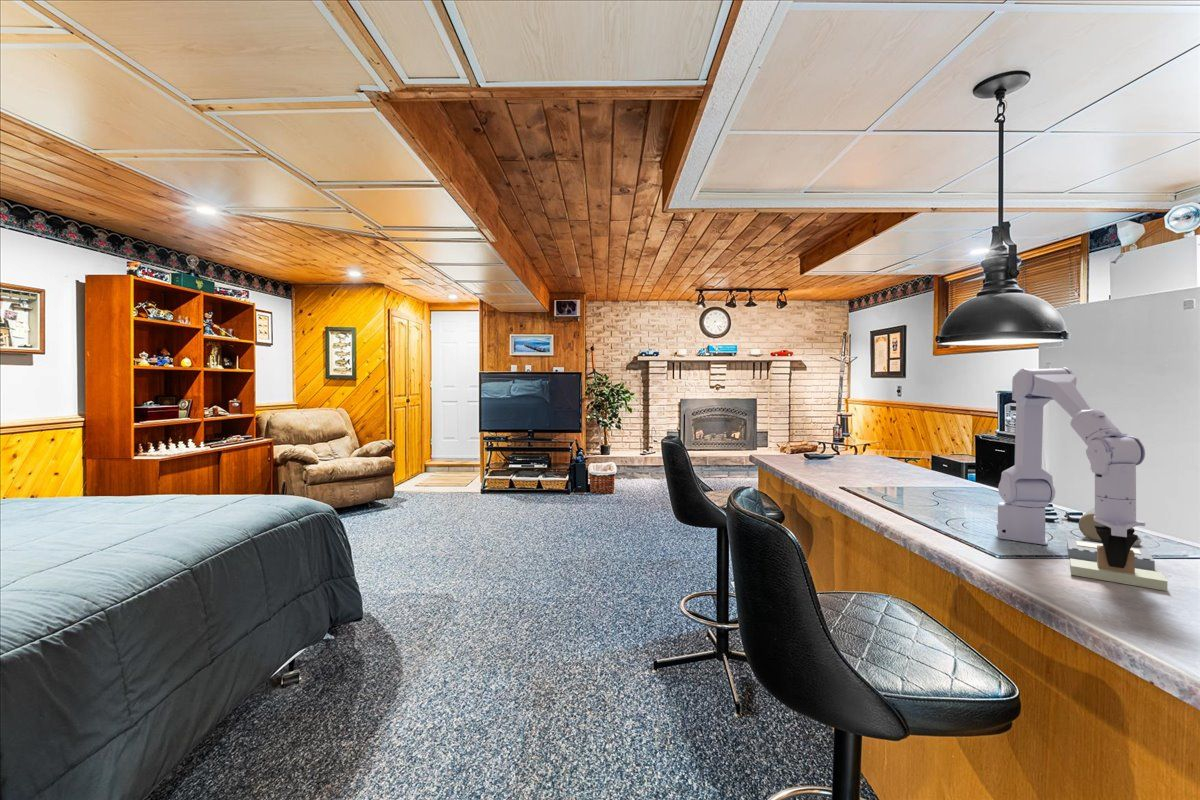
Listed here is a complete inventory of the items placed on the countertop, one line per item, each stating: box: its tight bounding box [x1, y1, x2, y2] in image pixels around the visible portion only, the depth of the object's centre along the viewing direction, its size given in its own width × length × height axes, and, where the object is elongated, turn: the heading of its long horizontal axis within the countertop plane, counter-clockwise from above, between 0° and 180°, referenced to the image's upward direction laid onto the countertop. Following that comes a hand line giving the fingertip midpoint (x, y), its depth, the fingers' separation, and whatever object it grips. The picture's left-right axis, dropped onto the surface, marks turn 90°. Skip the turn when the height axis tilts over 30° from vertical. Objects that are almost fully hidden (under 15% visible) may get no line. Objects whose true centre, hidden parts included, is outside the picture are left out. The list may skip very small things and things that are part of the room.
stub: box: [1069, 545, 1168, 592], centre depth 98 cm, size 13×6×6 cm, turn 48°
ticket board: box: [1066, 538, 1156, 571], centre depth 110 cm, size 13×10×2 cm
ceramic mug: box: [1078, 507, 1143, 547], centre depth 123 cm, size 11×8×8 cm
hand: (1115, 564), depth 98 cm, fingers closed on stub, 3 cm apart
